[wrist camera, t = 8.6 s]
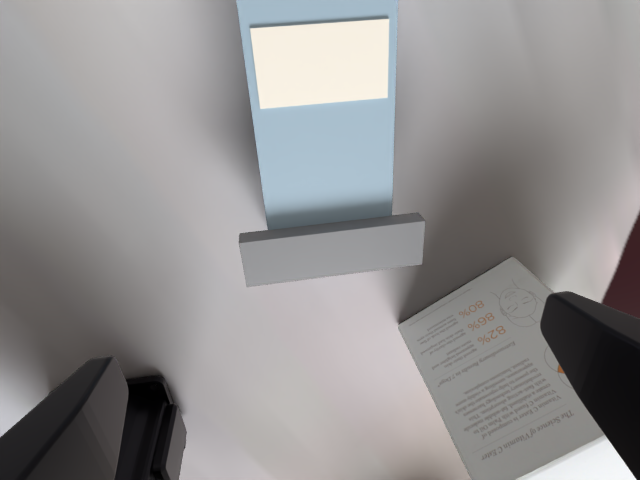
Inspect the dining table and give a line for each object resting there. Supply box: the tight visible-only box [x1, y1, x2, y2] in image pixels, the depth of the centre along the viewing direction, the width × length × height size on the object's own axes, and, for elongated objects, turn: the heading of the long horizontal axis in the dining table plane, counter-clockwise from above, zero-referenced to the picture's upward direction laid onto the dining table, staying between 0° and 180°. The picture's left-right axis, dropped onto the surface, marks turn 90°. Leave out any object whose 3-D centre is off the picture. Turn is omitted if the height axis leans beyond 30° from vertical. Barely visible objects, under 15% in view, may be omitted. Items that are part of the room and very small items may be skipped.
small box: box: [398, 257, 636, 480], centre depth 21 cm, size 8×6×10 cm
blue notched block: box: [236, 0, 425, 287], centre depth 15 cm, size 7×13×5 cm, turn 3°
